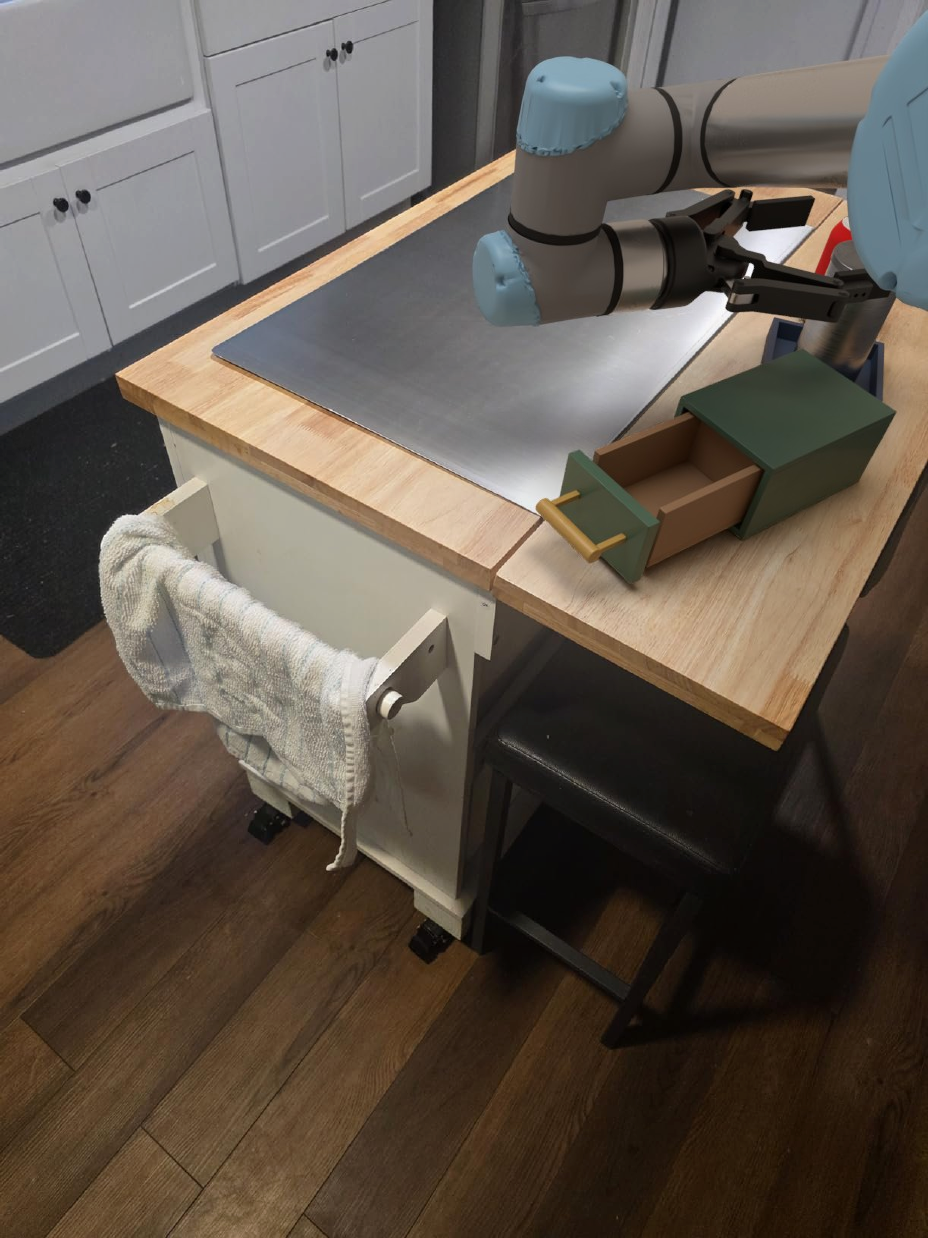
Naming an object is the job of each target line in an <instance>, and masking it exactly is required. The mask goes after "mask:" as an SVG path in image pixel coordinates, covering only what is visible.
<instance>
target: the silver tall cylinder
mask: <svg viewBox="0 0 928 1238" xmlns="http://www.w3.org/2000/svg"><path fill="white" fill-rule="evenodd" d="M864 268H865V267H864V266H863V264H862V262H861V260H860V258H859V256H858V254H857V251H856V248H855V245H854V242H853V240H849V241H844V242H841V243H839V244H837V245H836V246H835V248H834V250H833V252H832V255H831V261H830V264H829V266H828V268H827V271H826V273H825V276H829V277H833V276H834V274H835V272H838V271H847V270H855V269H864ZM896 300H897V298H896V293H895V292H893V291H891V292H890V294H889V297H886V298H878V299H871V300H866V301H864V302H857V303H849V304H846V305H845V307H844V309H843V312H842V314H841V316H840V318H839V321H838V322H837V323H830V322H823V321H816V320H809V319H806V321H805V322H804V323H803V324H804V327H803V329H802V331H801V334H800V336H799V339H798V341H797V344H796V346H795V348H794V351H793V352H795V351H797V350H800V349H804V350H806V351H807V352H809V353H810V354H812V355H813V356H815V357H816V358H818V359H819V360H821V361H822V362H824V363H825V364H827V365H828V366H830V367H831V368H833V369H834V370H836V371H837V372H839V373H840V374H842V375H843V376H844V377H846V378H847V379H849V380H850V381H852V382H853V383H855V381H856V379H857V377H858V375H859V373H860V371H861V369H862V367H863V365H864V363H865V361H866V359H867V357H868V355H869V353H870V351H871V349H872V347H873V345H874V343H875V341H877V339H878V337H879V334H880V333H881V330H882V328H883V326H884V324H885V322H886V321H887V318H888V316H889V314H890V312H891V310H892V308H893V306H894V303H895V301H896Z"/></svg>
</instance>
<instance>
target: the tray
mask: <svg viewBox="0 0 928 1238" xmlns="http://www.w3.org/2000/svg"><path fill="white" fill-rule="evenodd" d="M804 324H805V323H801V322H797V321H793V320H789V319H784V318H780V317H776V316H774V317H773V319H772V322H771V324H770V326H769V329H768V332H767V334H766V337H765V342H764V347H763V352H762V358H761V362H760V365H762V364H764V363H767V362H769V361H772V360H774V359H777V358H780V357H782V356H785V355H787V354H790V353H792V352H793V351H794V348H795V346H796V344H797V341H798V339H799V336H800V334H801V331H802V329H803V327H804ZM884 369H885V343H884V342H882V341H878V340H876V341H875V343H874V345H873V347H872V349H871V351H870V353H869V355H868V357H867V359H866V361H865V363H864V365H863V367H862V369H861V371H860V373H859V375H858V377H857V379H856V381H855V384H856V385H858V386H859V387H861V388H862V389H864V390H865V391H867V392H868V393H870V394H871V395H873V396H874V397H876V398H877V399H879V400H880V401H882V402H883V403H884V373H885V371H884Z"/></svg>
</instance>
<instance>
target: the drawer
mask: <svg viewBox="0 0 928 1238" xmlns="http://www.w3.org/2000/svg"><path fill="white" fill-rule="evenodd" d="M567 454H568V455H567V458H566V463H565V468H564V473H563V477H562V478H563V479H562V484H561V486H560V487H561V488H560V493H559V497H556V498H554V499H551V500H550V499H549V498H548V497H543V498H541V499H540V500H538V502H537V503H536V505H535V511H536V513H538V514H539V515H540V517H542V518H543V520H544V521H546V522H547V524H549V526H551V527H552V528H553V530H555V531H556V533H558V534H559V535H560V536H561V538H563V539H564V540H565V541H566V542H567V543H568V544H569V545H570V546H571V548H572V549H574V550H575V551H576V553H578V554H579V555H580V557H582V558H583V559H584V560H585V562H587V563H588V564H593V563H595V562H596V561H598V559H599V558H600V557H602V559H604V560H605V561H606V562H607V564H609V565H610V566H611V567H612V568H613V569H614V570H615V571H616V572H617V573H618V574H619V575H620V576H621V577H622V578H623V579H624V580H625V581H626V582H627V583H628V584H629V585H632V584H635V583H636V582H639V581H640V580H642V578H643V577H642V576H643V574H644V571H645V568H649V567H652V566H654V565H656V564H659V563H661V562H662V561H664V560H665V559H668V558H670V557H672V556H674V555H676V554H679V553H681V552H683V551H684V550H687V549H688V548H690V547H692V546H694V545H697V544H699V543H700V542H702V541H705V540H706V539H709V538H711V537H713V536H714V535H717V534H719V533H721V532H722V531H725V530H727V529H728V528H729V527H731V526H733V525H735V524H737V523H739V522H741V521H743V520H744V518H745V516H746V514H747V512H748V509H749V507H750V505H751V502H752V500H753V498H754V496H755V493H756V491H757V489H758V486H759V484H760V482H761V480H762V477H763V475H764V473H765V470H764V469H763V468H761V467H760V466H759V465H758V464H756V463H755V462H754V461H753V460H751V459H750V458H749V457H747V456H746V455H745V454H744V453H742V452H741V451H740V450H739V449H737V448H736V447H735V446H733V445H732V444H731V443H730V442H728V441H727V440H726V439H725V438H723V437H722V436H721V435H719V434H718V433H717V432H716V431H714V430H713V429H712V428H711V427H709V426H708V425H707V424H705V423H704V422H703V421H702V420H700V419H699V418H698V417H697V416H695V415H694V414H693V413H691V412H687V413H685V414H683V415H680V416H678V417H675V418H674V417H673V418H670V419H668V420H665V421H663V422H661V423H658V424H655V425H653V426H650V427H648V428H646V429H643V430H640V431H638V432H636V433H634V434H631V435H628V436H626V437H623V438H621V439H618V440H616V441H613V442H611V443H608V444H606V445H604V446H602V447H599V448H596V449H594V451H593V456H592V459H591V458H590V457H588V456H587V454H585V453H584V452H583V450H581V449H576V450H573V451H571V452H569V453H567Z"/></svg>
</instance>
